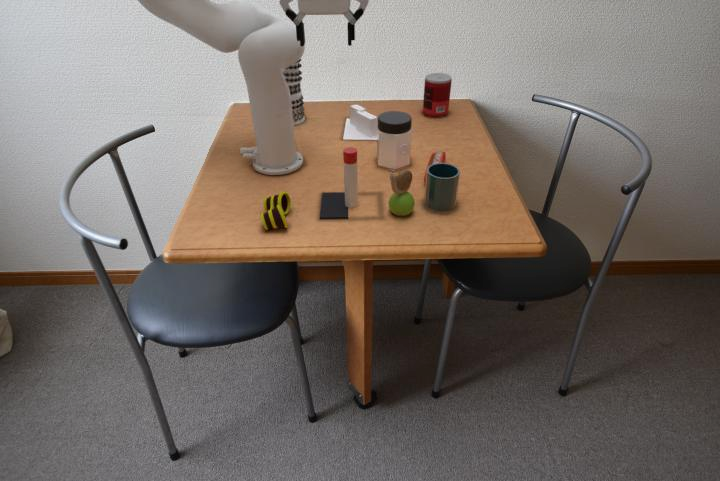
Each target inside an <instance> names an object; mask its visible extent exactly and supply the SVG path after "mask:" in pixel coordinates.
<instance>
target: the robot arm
mask: <svg viewBox="0 0 720 481" xmlns="http://www.w3.org/2000/svg"><path fill="white" fill-rule="evenodd" d="M355 1H356V2H358V3H359V5H358V8H357V9H356V10H355V12H353V11H352V10H351V0H297V8H298V13H296V12H295V11H294V10H293V9H292V8H291V6H290V3H292V2H294V0H279V2H278V3H279V5H280V7H281V9H282V10H283V12H284V13H285V16H286V17H287V18H288V19H289V20H290V21H289V20H287V19H285V18H283V17H281V15H279V14H276V13H275V12H273V11H271V10H268V9H267V8H265V7H264V6H262V5H260V4H258V3H256V2H253V1H250V0H234V1H230V2H226V3H217V2H214V1H212V0H137V2H139V4H140V5H141V6H142V7H143V8H145V9H146V10H147V11H148V12H149V13H151V14H152V15H153V16H155V17H157V18H158V19H160V20H162V21H164V22H166V23H168V24H170V25H172V26H174V27H175V28H178V29H180V30H181V31H184V32H185V33H186V34H188V35H190V36H191V37H194V38H195V39H197V40H199V41H201V43H204V44H205V45H207V46H209V47H211V48H213V49H214V50H215V51H219V53H223V54H224V53H225V54H230V53H233V52H236V51H237V54H238V55H237V58H238V63H239V67H240V69H241V72H242V75H243V77H244V81H245V85H246V89H247V95H248V100H249V107H250V112H251V119H252V124H253V132H254V139H255V145H256V146H252V147H240V149H239V152H240V156H242V158H243V160H250V159H251V160H252V167H253V168H254V170H255V171H256V172H258V173H260V174H263V175H267V176H281V175H288V174H291V173H293V172H296V171H297V170H299V169H300V168H301V167H302V166H303V165H304V156H303V155H302V153H300V152H299V151H297V146H296V145H297V144H296V135H295V125H294V124H293V114H292V104H291V95H290V90H289V87H288V84H287V82H286V80H285V78H284V75H283V70H285V69H286V68H288V67H289V66H291V65H293V64H294V63H296V62H297V61H298V60H299V59H301V58H302V57H303V55H304V54H305V49H306V34H305V23H304V22H303V20H304V18H305V17H306V16H333V15H334V16H338V15H343V16H344V18H346V20H347V46H348V47H352V43H353V42H352V41H355V40H356V23H357V22H358V21H359V20H360V19H361V18H362V16H363V15H364V14H365V11H366V9H367V7H368V4H369V0H355Z"/></svg>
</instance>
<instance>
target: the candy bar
mask: <svg viewBox="0 0 720 481" xmlns="http://www.w3.org/2000/svg"><path fill="white" fill-rule="evenodd" d="M446 157H447V156H446V151H444V150H443V151H441V150H439V151H435V152H432V153H431V155H430V158H429V162H428V164H427V167H426V169H427V168H428V167H429V166H430V165H432V164H436V163H446V159H447V158H446ZM426 172H427V170H426V171H425V174H424V179H423V180H424V185H425V184H426Z"/></svg>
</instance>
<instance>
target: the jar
mask: <svg viewBox="0 0 720 481" xmlns="http://www.w3.org/2000/svg"><path fill="white" fill-rule="evenodd" d="M377 117H378V125H377V140H376V161H377V165H378V166H379V167H384V168H388V169H392V170H397V169H400V168H403V167H406V166H409V165H410V164H411V163H410V162H411V151H412V150H411V149H412V148H411V147H412V126H413V125H412V123H413V121H412V116H411V114H409V113H407V112H404V111H400V110H399V111H398V110H389V111H384V112H382V113H380V114H379V115H378V116H377Z"/></svg>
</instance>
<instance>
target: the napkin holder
mask: <svg viewBox="0 0 720 481" xmlns="http://www.w3.org/2000/svg"><path fill="white" fill-rule="evenodd" d="M377 125H378V116H376V115H374V114H372V113H370V112H368V111H367V110H366V108H365V107H364V106H361V105H359V104H356V103H355V104H352V105H349V117H347V118H346V120H345V125H344V131H343V137H342V140H347V141H348V140H352V141H353V140H354V141H355V140H359V141H377Z"/></svg>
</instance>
